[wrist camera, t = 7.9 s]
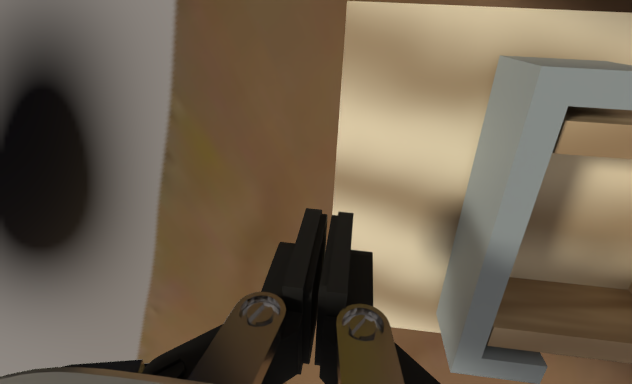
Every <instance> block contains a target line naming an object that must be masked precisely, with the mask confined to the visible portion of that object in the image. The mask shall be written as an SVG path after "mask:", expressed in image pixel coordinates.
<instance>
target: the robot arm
mask: <svg viewBox="0 0 632 384" xmlns="http://www.w3.org/2000/svg"><path fill="white" fill-rule="evenodd" d="M353 215H354V213H348V212H338V215H332V217H331V223H330V229H329V234H328V240H327V246H326V230H327V214H322V210H318V209H308V208H307V209H306V211H305V214H304V217H303V221H302V224H301V227H300V230H299V234H298V237H297V240H296V243H295V244H294V243H285V242H280V243H279V245H278V248H277V251H276V253H275V256H274V259H273V261H272V264H271V267H270V269H269V272H268V275H267V277H266V280H265V283H264V285H263V288H262V291H261V292H255V293H252V294H249V295H247V296H245V297H243V298H242V299H240V301H239V302H238V303H237V304H236V305H235V307H234V308H233V310H232V311H231V313H230V314H229V316H228V318H227V319H226V321H225V322H224V324H222V325H220V326H218V327H216V328H214V329H212V330H210V331H208V332H206V333H204V334H202V335H200V336H198V337H196V338H194V339H192V340H190V341H188V342H186V343H184V344H182V345H180V346H178V347H176V348H174V349H172V350H170V351H168V352H166V353H164V354H162V355H160V356H158V357H157V358H155V359H154V360H152V361H151V362H150V363H146V364H144V363H143V359H142V360H129V361H115V362H100V363H86V364H72V365H67V366H63V367H52V368H41V369H32V370H27V371H22V372H17V373H13V374H8V375H4V376H1V377H0V384H286V381H288V380H289V379H291V378H292V377H294V376H295V375H297V374H301V371H302V365H303V363H305V364H309V363H310V357H311V351H312V345H313V339H314V333H315V327H316V321H317V329H316V349H315V365H320V378H321V380H322V381H323V382H324V383H325V384H440V383H439V382H438V381H437V380H436V379H435V378H434V377H432V376H431V375H430V374H429V373H428V372H427V371H426V370H425V369H424V368H422V367H421V366H420V365H419V364H418V363H417V362H416V361H415V360H414V359H412V358H411V357H410V356H409V355H408V354H407V353H406V352H405V351H404V350H402V349H401V348H400V347H399V346H398V345H397V344H396V343H395V342H394V339H393V335H392V331H391V327H390V324H389V321H388V319H387V317H386V316H385V315H384V314H383V313H382V312H381V311H380V310H378V309H377V308H375V307H373V253H372V252H368V251H359V250H351V241H352V228H353ZM325 247H326V251H325Z"/></svg>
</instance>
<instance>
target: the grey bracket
mask: <svg viewBox="0 0 632 384" xmlns="http://www.w3.org/2000/svg"><path fill="white" fill-rule="evenodd" d="M568 106H573V107H589V108H604V109H620V110H632V65H627V64H621V63H615V62H609V61H596V60H577V59H558V58H539V57H521V56H502V55H500V56H499V60H498V65H497V69H496V73H495V77H494V81H493V85H492V89H491V93H490V97H489V101H488V105H487V109H486V113H485V117H484V121H483V125H482V129H481V133H480V137H479V142H478V146H477V150H476V154H475V158H474V162H473V166H472V170H471V174H470V178H469V182H468V186H467V190H466V194H465V198H464V202H463V206H462V210H461V214H460V219H459V223H458V227H457V231H456V235H455V239H454V243H453V247H452V251H451V255H450V259H449V263H448V267H447V271H446V275H445V279H444V283H443V287H442V291H441V296H440V300H439V304H438V308H437V312H436V315H437V319H438V323H439V327H440V331H441V335H442V340H443V344H444V348H445V352H446V356H447V360H448V364H449V368H450V372H452V373H460V374H467V375H475V376H483V377H490V378H498V379H506V380H513V381H521V382H528V383H536V384H540V382H541V380H542V378H543V375H544V373H545V371H546V369H547V365H546V363H545V361H544V359H543V358H542V356H541V354H540V352H534V351H526V350H517V349H509V348H501V347H493V346H487V341H488V338H489V335H490V332H491V329H492V326H493V323H494V321H495V318H496V315H497V312H498V309H499V306H500V303H501V300H502V297H503V294H504V291H505V289H506V286H507V283H508V280H509V277H510V274H511V271H512V268H513V265H514V262H515V259H516V257H517V254H518V251H519V248H520V245H521V242H522V239H523V236H524V233H525V230H526V227H527V225H528V222H529V219H530V216H531V213H532V210H533V207H534V204H535V201H536V198H537V196H538V193H539V190H540V187H541V184H542V181H543V178H544V175H545V172H546V169H547V166H548V164H549V161H550V158H551V155H552V152H553V149H554V146H555V143H556V140H557V137H558V134H559V132H560V129H561V126H562V123H563V120H564V117H565V114H566V111H567V108H568Z"/></svg>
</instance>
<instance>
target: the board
mask: <svg viewBox="0 0 632 384" xmlns="http://www.w3.org/2000/svg"><path fill="white" fill-rule="evenodd" d="M500 55H502V56H521V57H539V58H558V59H577V60H596V61H609V62H615V63H621V64H627V65H632V13H626V12H602V11H578V10H554V9H530V8H506V7H481V6H457V5H433V4H409V3H385V2H361V1H347V13H346V27H345V41H344V55H343V70H342V84H341V98H340V112H339V127H338V141H337V155H336V170H335V184H334V198H333V212H332V215H338V212H348V213H354V215H353V228H352V241H351V250H359V251H368V252H372V253H373V307H375V308H377V309H378V310H380V311H381V312H382V313H383V314H384V315H385V316H386V317H387V319H388V321H389V324H390V327H396V328H404V329H412V330H420V331H429V332H437V333H441V331H440V327H439V323H438V319H437V315H436V312H437V308H438V304H439V300H440V296H441V291H442V287H443V283H444V279H445V275H446V271H447V267H448V263H449V259H450V255H451V251H452V247H453V243H454V239H455V235H456V231H457V227H458V223H459V219H460V214H461V210H462V206H463V202H464V198H465V194H466V190H467V186H468V182H469V178H470V174H471V170H472V166H473V162H474V158H475V154H476V150H477V146H478V142H479V137H480V133H481V129H482V125H483V121H484V117H485V113H486V109H487V105H488V101H489V97H490V93H491V89H492V85H493V81H494V77H495V73H496V69H497V65H498V60H499V56H500ZM487 346H493V347H501V348H509V349H517V350H526V351H534V352H542V353H550V354H558V355H566V356H574V357H582V358H590V359H598V360H607V361H615V362H623V363H631V364H632V110H620V109H604V108H589V107H573V106H568V108H567V111H566V114H565V117H564V120H563V123H562V126H561V129H560V132H559V134H558V137H557V140H556V143H555V146H554V149H553V152H552V155H551V158H550V161H549V164H548V166H547V169H546V172H545V175H544V178H543V181H542V184H541V187H540V190H539V193H538V196H537V198H536V201H535V204H534V207H533V210H532V213H531V216H530V219H529V222H528V225H527V227H526V230H525V233H524V236H523V239H522V242H521V245H520V248H519V251H518V254H517V257H516V259H515V262H514V265H513V268H512V271H511V274H510V277H509V280H508V283H507V286H506V289H505V291H504V294H503V297H502V300H501V303H500V306H499V309H498V312H497V315H496V318H495V321H494V323H493V326H492V329H491V332H490V335H489V338H488V341H487Z"/></svg>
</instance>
